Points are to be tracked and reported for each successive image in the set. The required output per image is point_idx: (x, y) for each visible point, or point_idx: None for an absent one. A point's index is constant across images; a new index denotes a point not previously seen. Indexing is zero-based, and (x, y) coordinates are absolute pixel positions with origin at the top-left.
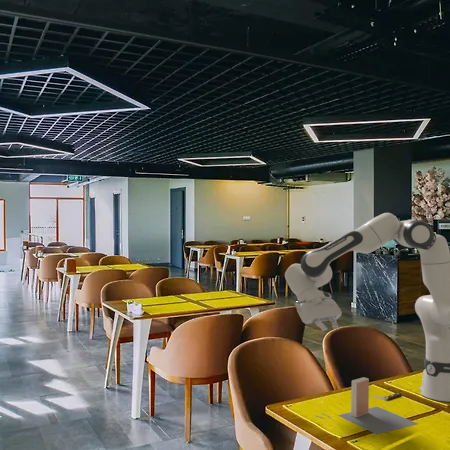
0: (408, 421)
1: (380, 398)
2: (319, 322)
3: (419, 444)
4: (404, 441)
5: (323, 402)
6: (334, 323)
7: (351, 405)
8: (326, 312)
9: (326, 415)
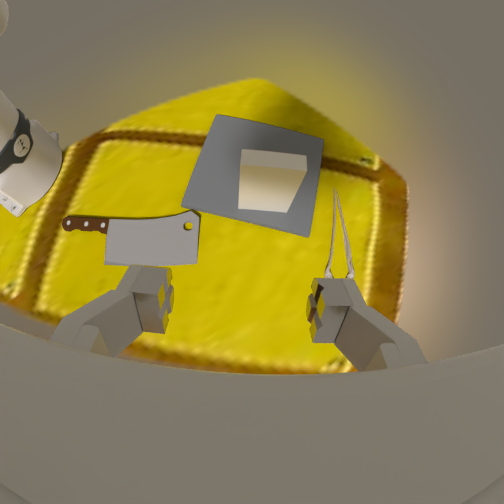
0: (219, 127)
1: (117, 233)
2: (404, 335)
3: (289, 95)
4: (298, 110)
5: (246, 324)
6: (155, 292)
7: (291, 202)
8: (175, 435)
9: (332, 250)
